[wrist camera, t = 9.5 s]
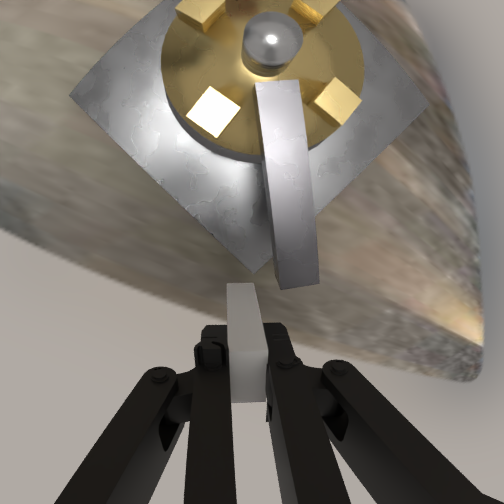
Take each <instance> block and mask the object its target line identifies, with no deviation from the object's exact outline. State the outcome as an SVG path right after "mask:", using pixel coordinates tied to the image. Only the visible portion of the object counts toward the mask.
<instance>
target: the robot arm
mask: <svg viewBox="0 0 504 504" xmlns="http://www.w3.org/2000/svg"><path fill="white" fill-rule="evenodd" d="M194 357H195V366H196V367H195V368H194V369H192V370H190V371H188V372H185V373H181V374H176V372H175V371H174V370H172V369H171V368H168V367H154V368H152V369H149V370H148V371H147V372H146V373H144V375H143V376H142V378H141V379H140V380H139V382H138V383H137V385H136V386H135V387H134V389H133V390H132V392H131V393H130V394H129V396H128V397H127V399H126V400H125V402H124V403H123V405H122V406H121V407H120V409H119V410H118V411H117V413H116V414H115V416H114V417H113V419H112V420H111V422H110V423H109V424H108V426H107V427H106V429H105V430H104V431H103V433H102V435H101V436H100V437H99V439H98V440H97V442H96V443H95V444H94V446H93V447H92V449H91V450H90V452H89V453H88V455H87V456H86V458H85V459H84V461H83V462H82V463H81V465H80V466H79V468H78V469H77V471H76V472H75V473H74V475H73V476H72V478H71V479H70V481H69V482H68V484H67V485H66V487H65V488H64V490H63V491H62V493H61V494H60V496H59V497H58V499H57V500H56V502H55V503H54V504H148V503H149V501H150V499H151V497H152V495H153V492H154V490H155V488H156V486H157V484H158V482H159V479H160V477H161V475H162V473H163V471H164V469H165V467H166V464H167V462H168V460H169V458H170V456H171V454H172V451H173V449H174V447H175V445H176V443H177V441H178V438H179V436H180V434H181V432H182V429H183V427H184V424H185V422H188V421H190V426H189V437H188V449H187V461H186V475H185V490H184V504H237V499H236V484H235V468H234V452H233V432H232V412H231V403H245V402H265V401H266V397H267V413H266V414H267V415H266V422H269V426H270V433H271V439H272V445H273V451H274V457H275V463H276V469H277V474H278V481H279V487H280V493H281V498H282V504H351V502H350V499H349V496H348V493H347V490H346V487H345V484H344V481H343V478H342V475H341V472H340V469H339V466H338V463H337V460H336V458H335V455H334V452H333V449H332V446H331V444H330V441H331V442H332V443H333V445H334V446H335V448H336V449H337V450H338V452H339V453H340V454H341V456H342V457H343V459H344V460H345V461H346V463H347V464H348V465H349V467H350V468H351V469H352V471H353V472H354V474H355V475H356V476H357V478H358V479H359V480H360V482H361V483H362V484H363V486H364V487H365V488H366V490H367V491H368V492H369V494H370V495H371V496H372V498H373V499H374V500H375V502H376V503H377V504H504V503H503V502H500V501H498V500H496V499H494V498H491V497H489V496H487V495H485V494H482V493H481V492H480V491H479V490H478V489H477V488H476V487H475V486H474V485H473V484H472V483H471V482H470V481H469V480H468V479H467V478H466V477H465V476H464V475H463V474H462V473H461V472H460V471H459V470H458V469H456V467H455V466H454V465H453V464H452V463H451V462H449V460H448V459H446V457H444V456H443V455H442V454H441V453H440V452H439V451H438V450H437V449H436V448H435V447H434V446H433V445H432V444H431V443H430V442H429V441H428V440H427V439H426V438H425V437H424V436H423V435H422V434H421V433H420V432H419V431H418V430H417V429H416V428H415V427H414V426H413V425H412V424H411V423H410V422H409V421H408V420H407V419H406V418H405V417H404V416H403V415H402V414H401V413H400V412H399V411H398V410H397V409H396V408H395V407H394V406H393V405H392V404H391V403H390V402H389V401H388V400H387V399H386V398H385V397H384V396H383V395H382V394H381V393H380V392H379V391H378V390H377V389H376V388H375V387H374V386H373V385H372V384H371V383H370V382H369V381H368V380H367V379H366V378H365V377H364V376H363V375H362V374H361V373H360V372H359V371H358V370H357V369H356V368H355V367H354V366H353V365H352V364H350V363H349V362H346V361H344V360H330V361H328V362H326V363H325V364H324V365H323V368H314V367H308V366H305V365H303V362H302V361H301V359H300V358H298V357H297V356H295V353H294V350H293V347H292V344H291V341H290V338H289V335H288V332H287V329H286V327H285V326H284V325H282V324H281V323H262V319H261V314H260V310H259V305H258V300H257V296H256V291H255V286H254V283H227V325H206V326H205V328H204V329H203V330H202V333H201V342H199V343H198V344H197V345H195V347H194ZM329 439H330V440H329Z"/></svg>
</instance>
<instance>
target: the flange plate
mask: <svg viewBox="0 0 504 504" xmlns="http://www.w3.org/2000/svg"><path fill="white" fill-rule="evenodd" d="M181 1H182V0H164V1H162V2H161V3H160V4H159V5H157V6H156V7H155V8H154V9H153V10H151V11H150V12H149V13H148V14H147V15H146V16H144V17H143V18H142V19H141V20H140V21H139V22H138V23H137V24H135V25H134V26H133V27H132V28H131V29H130V30H129V31H128V32H127V33H126V34H125V35H124V36H123V37H122V38H121V39H119V40H118V41H117V42H116V43H115V44H114V45H113V46H112V47H111V48H110V49H109V50H108V52H107V53H106V54H105V55H104V56H103V57H102V58H101V59H100V60H99V61H98V62H97V63H96V64H95V65H94V66H93V68H92V69H91V70H90V71H89V72H88V73H87V74H86V75H85V77H84V78H83V79H82V80H81V81H80V82H79V84H78V85H77V86H76V87H75V88H74V90H73V91H72V92H71V93H70V95H69V96H70V97H71V98H72V99H73V100H74V101H75V102H76V103H77V104H78V105H79V106H80V107H81V108H82V109H83V110H84V111H85V112H86V113H87V114H88V115H89V116H90V117H91V118H92V119H93V120H94V121H95V122H96V123H97V124H98V125H99V126H100V127H101V128H102V129H103V130H104V131H105V132H106V133H107V134H108V135H109V136H110V137H111V138H112V139H113V140H114V141H115V142H116V143H117V144H118V145H119V146H120V147H121V148H122V149H123V150H124V151H126V152H127V153H128V154H129V155H130V156H131V157H132V158H133V159H134V160H135V161H136V162H137V163H138V164H139V165H140V166H141V167H142V168H143V169H144V170H145V171H146V172H147V173H148V174H149V175H150V176H151V177H152V178H153V179H154V180H155V181H156V182H157V183H158V184H159V185H160V186H162V187H163V188H164V189H165V190H166V191H167V192H168V193H169V194H170V195H171V196H172V197H173V198H174V199H175V200H176V201H177V202H178V203H179V204H180V205H181V206H182V207H183V208H184V209H185V210H186V211H188V212H189V213H190V214H191V215H192V216H193V217H194V218H195V219H196V220H197V221H198V222H199V223H200V224H201V225H202V226H203V227H204V228H205V229H206V230H207V231H208V232H210V233H211V234H212V235H213V236H214V237H215V238H216V239H217V240H218V241H219V242H220V243H221V244H222V245H223V246H224V247H225V248H226V249H227V250H228V251H230V252H231V253H232V254H233V255H234V256H235V257H236V258H237V259H238V260H239V261H240V262H241V263H242V264H243V265H244V266H245V267H247V268H248V269H249V270H250V271H251V272H252V273H253V274H255V273H256V272H257V271H258V270H259V269H260V268H261V267H262V266H263V265H264V264H265V263H266V262H267V261H268V260H269V259H271V258H272V257H273V252H272V243H271V235H270V226H269V218H268V210H267V202H266V194H265V186H264V178H263V170H262V162H261V155H248V154H243V153H238V152H234V151H231V150H228V149H225V148H223V147H221V146H218V145H216V144H214V143H213V142H211V141H209V140H208V139H206V138H205V137H203V136H202V135H201V134H200V133H198V132H197V131H196V130H195V129H193V128H192V127H191V126H190V125H189V124H188V123H187V122H186V121H185V120H184V119H183V118H182V117H181V116H180V114H179V113H178V112H177V110H176V109H175V107H174V106H173V104H172V102H171V100H170V99H169V97H168V95H167V92H166V89H165V86H164V83H163V79H162V73H161V52H162V46H163V42H164V39H165V35H166V33H167V31H168V29H169V27H170V24H171V23H172V21H173V20H174V18H175V17H176V15H177V14H176V11H175V7H176V6H177V5H178V4H179V3H180V2H181ZM336 7H337V8H338V9H339V10H340V11H341V12H342V13H343V15H344V16H345V17H346V19H347V20H348V21H349V23H350V24H351V26H352V28H353V29H354V31H355V33H356V35H357V38H358V40H359V42H360V45H361V49H362V53H363V59H364V82H363V88H362V91H361V94H360V97H359V98H360V99H361V100H362V101H361V103H360V104H359V105H358V106H357V108H356V109H355V110H354V112H353V113H352V114H351V115H350V117H349V118H348V119H347V120H346V122H345V123H344V124H343V125H342V126H341V127H340V128H339V129H337V130H336V131H335V132H334V133H333V134H331V135H330V136H329V137H327V138H326V139H324V140H322V141H321V142H319V143H317V144H315V145H313V146H310V147H308V154H309V162H310V171H311V181H312V191H313V201H314V212H315V216H316V215H317V214H318V213H319V212H320V211H321V210H322V209H323V208H324V207H325V206H326V205H327V204H329V203H330V202H331V201H332V200H333V199H334V198H335V197H336V196H337V195H338V194H339V193H340V192H341V191H342V190H343V189H344V188H345V187H346V186H347V185H348V184H349V183H350V182H351V181H352V180H353V179H354V178H355V177H357V176H358V175H359V174H360V173H361V172H362V171H363V170H364V169H365V168H366V167H367V166H368V165H369V164H370V163H371V162H372V161H373V160H374V159H375V158H376V157H377V156H378V155H379V154H380V153H381V152H382V151H383V150H384V149H385V148H386V147H387V146H388V145H389V144H390V143H391V142H392V141H393V140H394V139H395V138H396V137H397V136H398V135H399V134H400V133H401V132H403V131H404V130H405V129H406V128H407V127H408V126H409V125H410V124H411V123H412V122H413V121H414V120H415V119H416V118H417V117H418V116H419V115H420V114H421V113H422V112H423V111H424V110H425V109H426V108H427V107H428V106H429V105H430V104H429V103H428V102H427V100H426V99H425V97H424V96H423V95H422V93H421V92H420V90H419V89H418V88H417V86H416V85H415V84H414V82H413V81H412V80H411V79H410V77H409V76H408V75H407V73H406V72H405V71H404V70H403V68H402V67H401V66H400V65H399V64H398V62H397V61H396V60H395V59H394V58H393V56H392V55H391V54H390V53H389V52H388V50H387V49H386V48H385V47H384V46H383V45H382V44H381V43H380V41H379V40H378V39H377V38H376V37H375V36H374V35H373V34H372V33H371V32H370V31H369V30H368V29H367V28H366V26H365V25H364V24H363V23H362V22H361V21H360V20H359V19H358V18H357V17H356V16H355V15H354V14H353V13H352V12H351V11H350V10H348V9H347V8H346V7H345V6H344V5H343V4H342V3H341V2H340V1H339V3H338V4H337V5H336Z"/></svg>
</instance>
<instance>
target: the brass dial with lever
mask: <svg viewBox="0 0 504 504" xmlns="http://www.w3.org/2000/svg"><path fill="white" fill-rule="evenodd" d="M339 1H340V0H182V1H181V2H180V3H179V4H178V5H177V6H176V7H175V11H176V14H177V15H176V17H175V18H174V20H173V21H172V23H171V24H170V27H169V29H168V31H167V33H166V35H165V39H164V42H163V46H162V52H161V73H162V79H163V83H164V86H165V89H166V92H167V95H168V97H169V99H170V100H171V102H172V104H173V106H174V107H175V109H176V110H177V112H178V113H179V114H180V116H181V117H182V118H183V119H184V120H185V121H186V122H187V123H188V124H189V125H190V126H191V127H192V128H193V129H195V130H196V131H197V132H198V133H200V134H201V135H202V136H203V137H205V138H206V139H208V140H209V141H211V142H213V143H214V144H216V145H218V146H221V147H223V148H225V149H228V150H231V151H234V152H238V153H243V154H248V155H261V162H262V170H263V178H264V186H265V194H266V202H267V210H268V218H269V226H270V235H271V243H272V252H273V261H274V270H275V276H276V279H277V282H278V284H279V287H280V289H281V290H283V289H290V288H296V287H302V286H308V285H314V284H319V266H318V251H317V237H316V224H315V212H314V201H313V191H312V181H311V171H310V162H309V154H308V147H310V146H313V145H315V144H317V143H319V142H321V141H322V140H324V139H326V138H327V137H329V136H330V135H331V134H333V133H334V132H335V131H336V130H337V129H339V128H340V127H341V126H342V125H343V124H344V123H345V122H346V120H347V119H348V118H349V117H350V115H351V114H352V113H353V112H354V110H355V109H356V108H357V106H358V105H359V104H360V103H361V101H362V100H361V99H360V98H359V97H360V94H361V91H362V88H363V82H364V59H363V53H362V49H361V45H360V42H359V40H358V38H357V35H356V33H355V31H354V29H353V28H352V26H351V24H350V23H349V21H348V20H347V19H346V17H345V16H344V15H343V13H342V12H341V11H340V10H339V9H338V8H337V7H336V5H337V4H338V3H339Z"/></svg>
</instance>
